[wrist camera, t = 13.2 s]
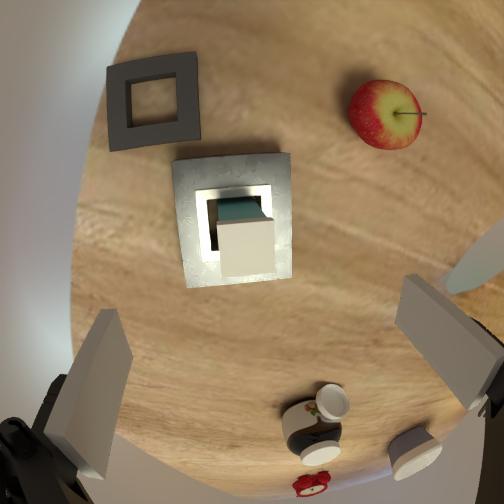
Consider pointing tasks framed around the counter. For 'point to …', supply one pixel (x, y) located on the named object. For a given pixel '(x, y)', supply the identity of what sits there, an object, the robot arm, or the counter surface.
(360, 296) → the counter surface
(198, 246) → the port
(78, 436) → the robot arm
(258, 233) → the plug
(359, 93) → the apple
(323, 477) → the alarm clock
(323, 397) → the spread jar
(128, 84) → the dark grey square frame
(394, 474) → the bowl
